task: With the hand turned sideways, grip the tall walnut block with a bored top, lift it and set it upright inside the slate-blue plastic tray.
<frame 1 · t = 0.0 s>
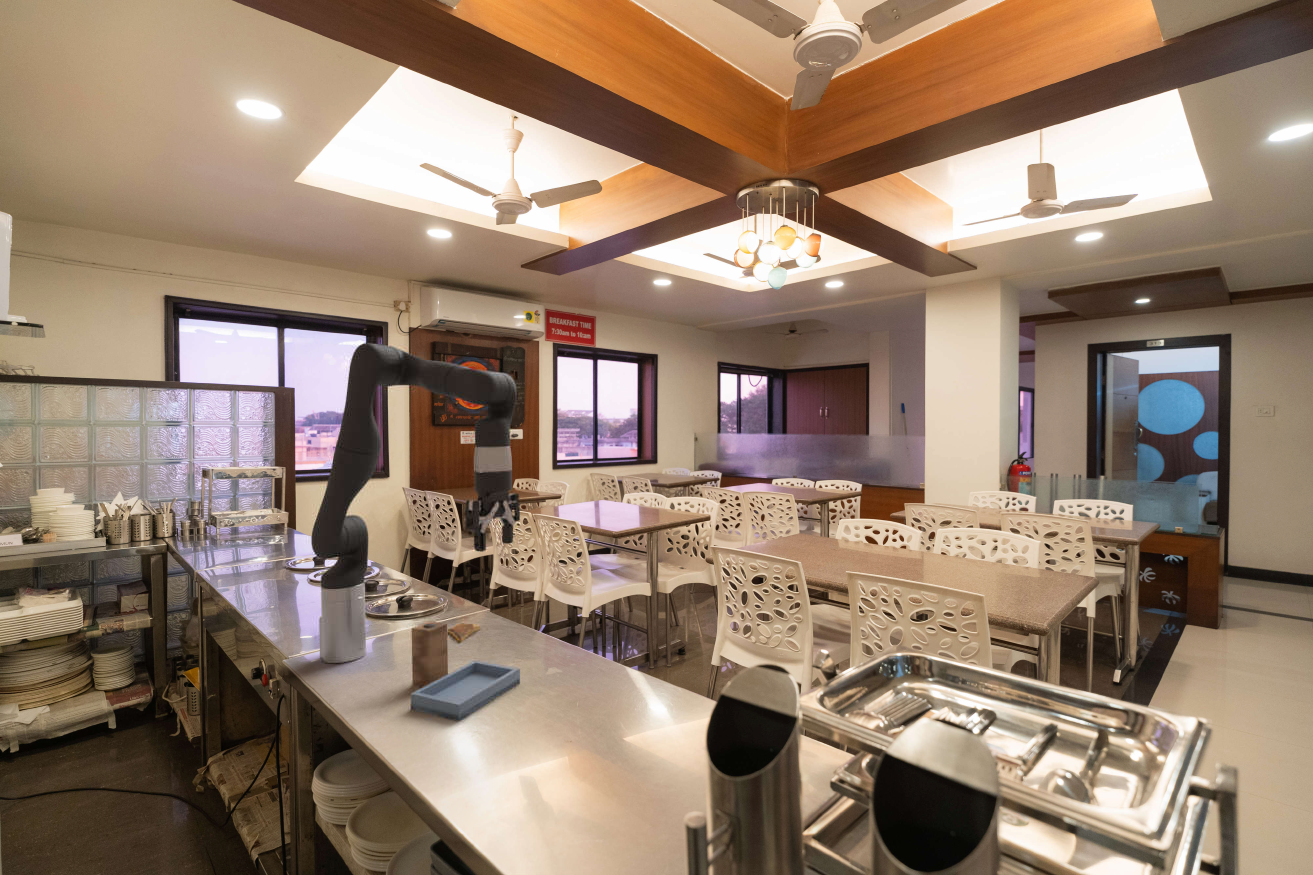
hand: (494, 547, 125), 29 cm above the counter, tool pointing down, fingers open, 8 cm apart
shard: (467, 635, 159), on the counter
slate tray: (468, 695, 122), on the counter
walnut block: (430, 681, 129), on the counter
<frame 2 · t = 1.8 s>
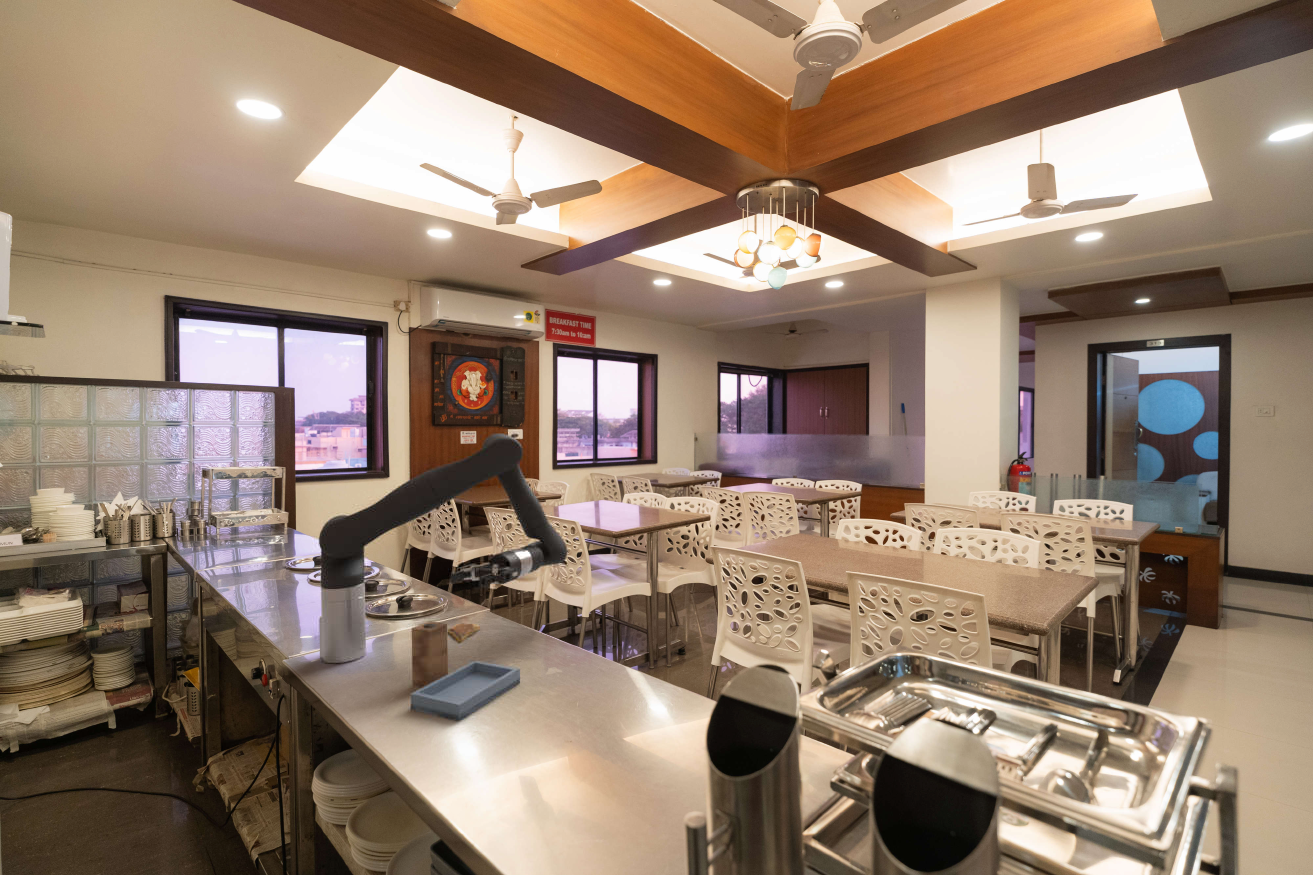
hand: (465, 580, 139), 19 cm above the counter, tool horizontal, fingers open, 8 cm apart
nothing on the counter moved.
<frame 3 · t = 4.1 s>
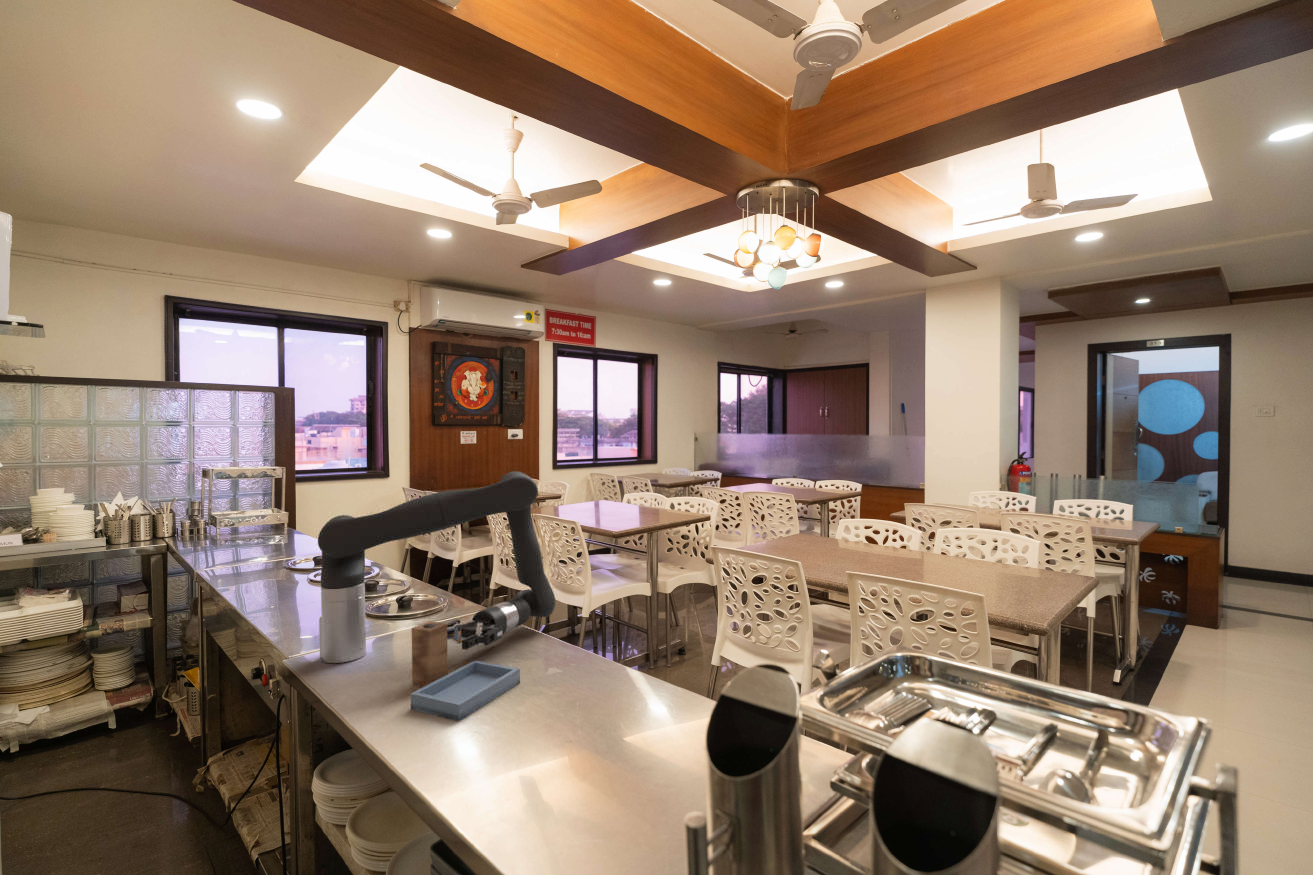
hand: (448, 642, 134), 7 cm above the counter, tool horizontal, fingers open, 8 cm apart
nothing on the counter moved.
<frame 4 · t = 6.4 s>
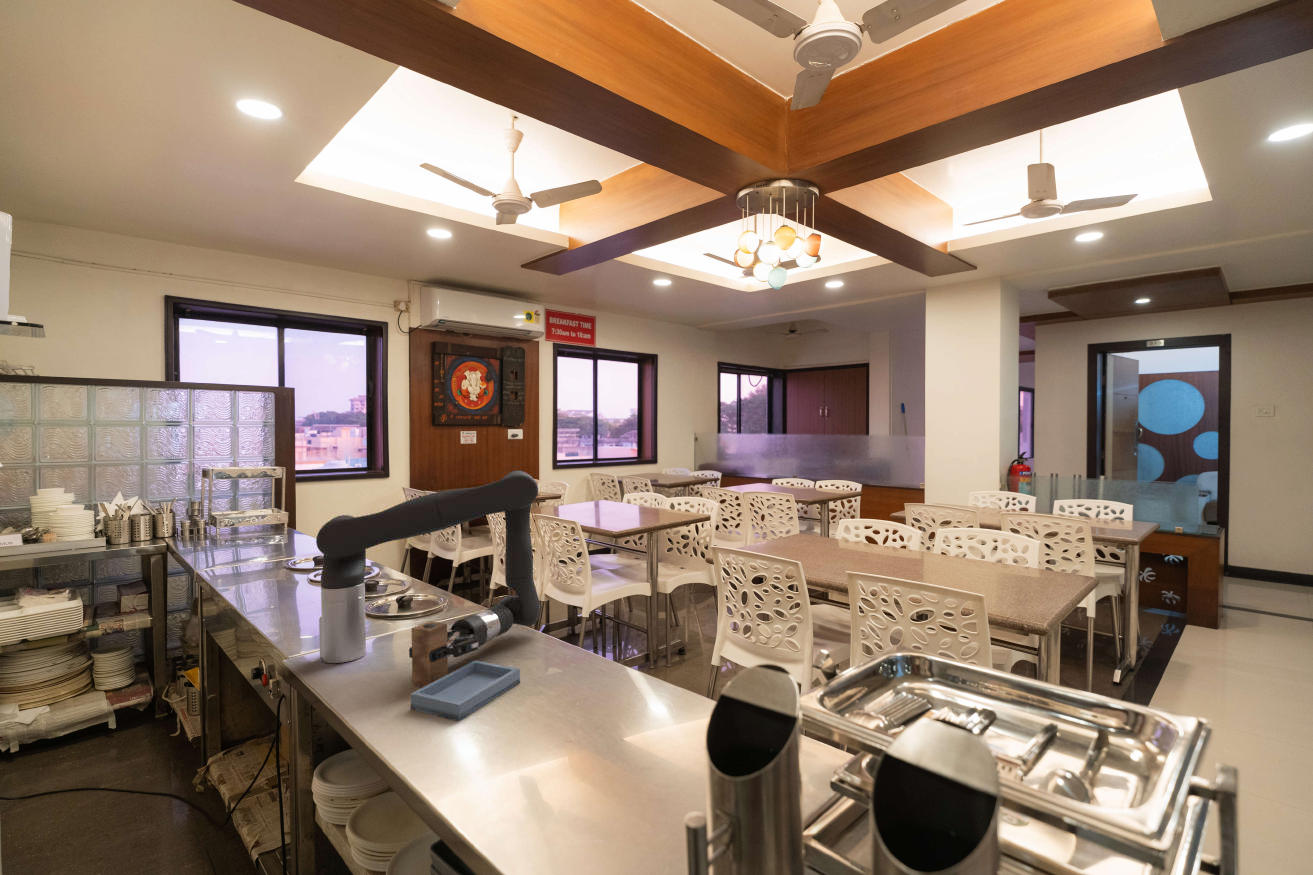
hand: (420, 655, 126), 7 cm above the counter, tool horizontal, fingers closed on walnut block, 5 cm apart
walnut block: (430, 681, 129), on the counter, touching gripper
everything else where it was.
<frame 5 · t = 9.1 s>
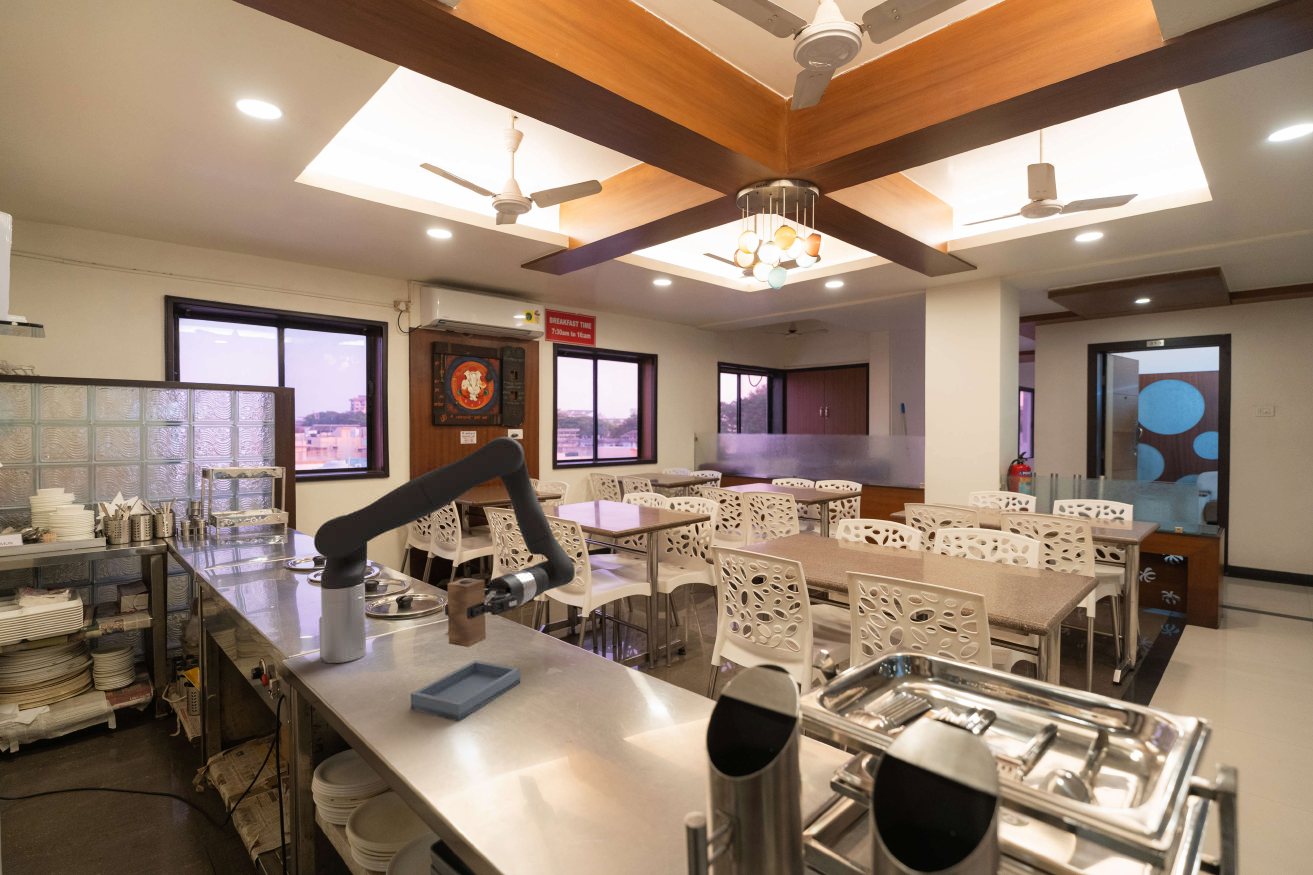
hand: (457, 612, 119), 18 cm above the counter, tool horizontal, fingers closed on walnut block, 5 cm apart
walnut block: (467, 641, 122), point 11 cm above the counter, touching gripper
everything else where it was.
when the fingers open (9 cm above the counter, at t = 11.8 s): walnut block drops 1 cm, resting on slate tray.
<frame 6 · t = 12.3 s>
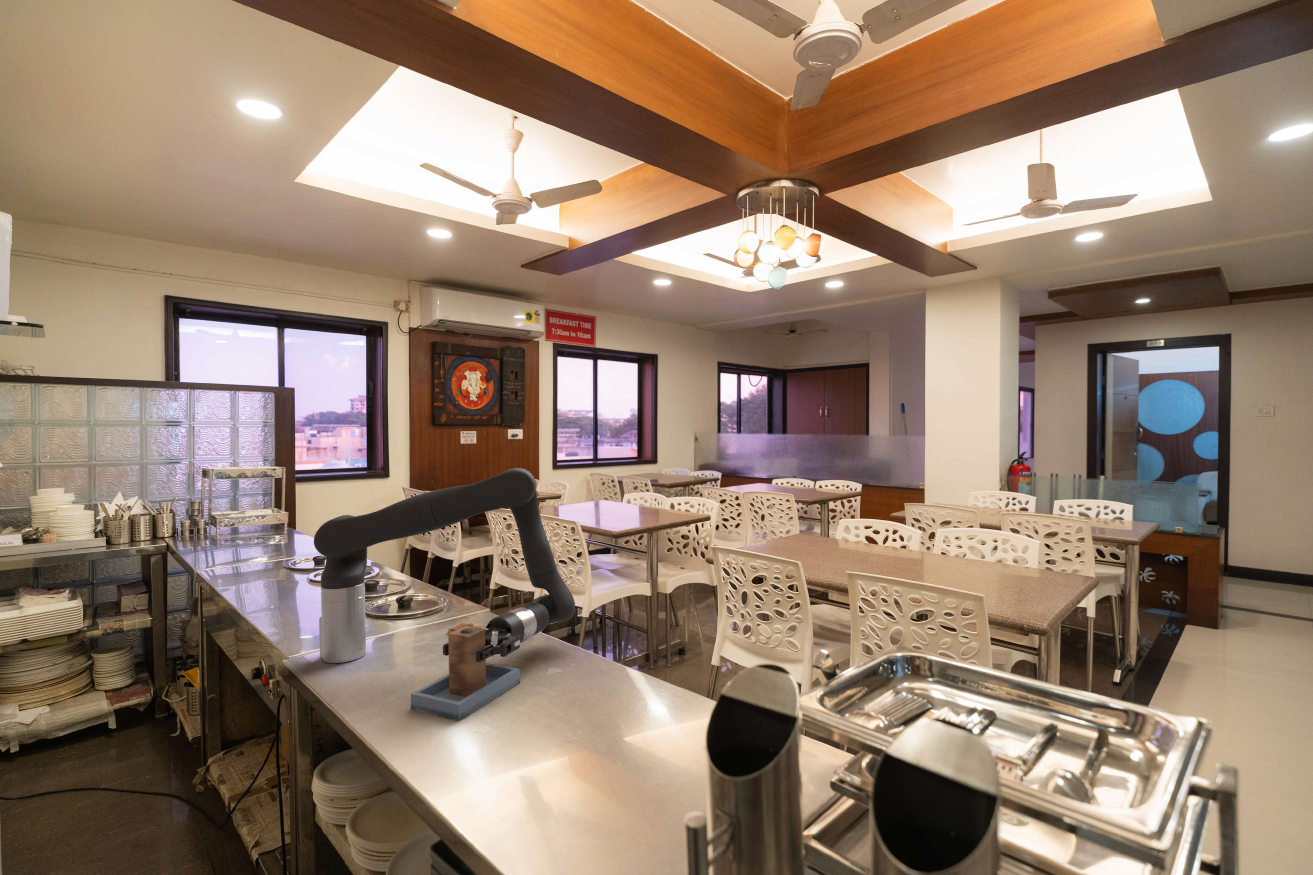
hand: (460, 653, 120), 9 cm above the counter, tool horizontal, fingers open, 8 cm apart
walnut block: (467, 690, 122), point 1 cm above the counter, touching slate tray
everything else where it was.
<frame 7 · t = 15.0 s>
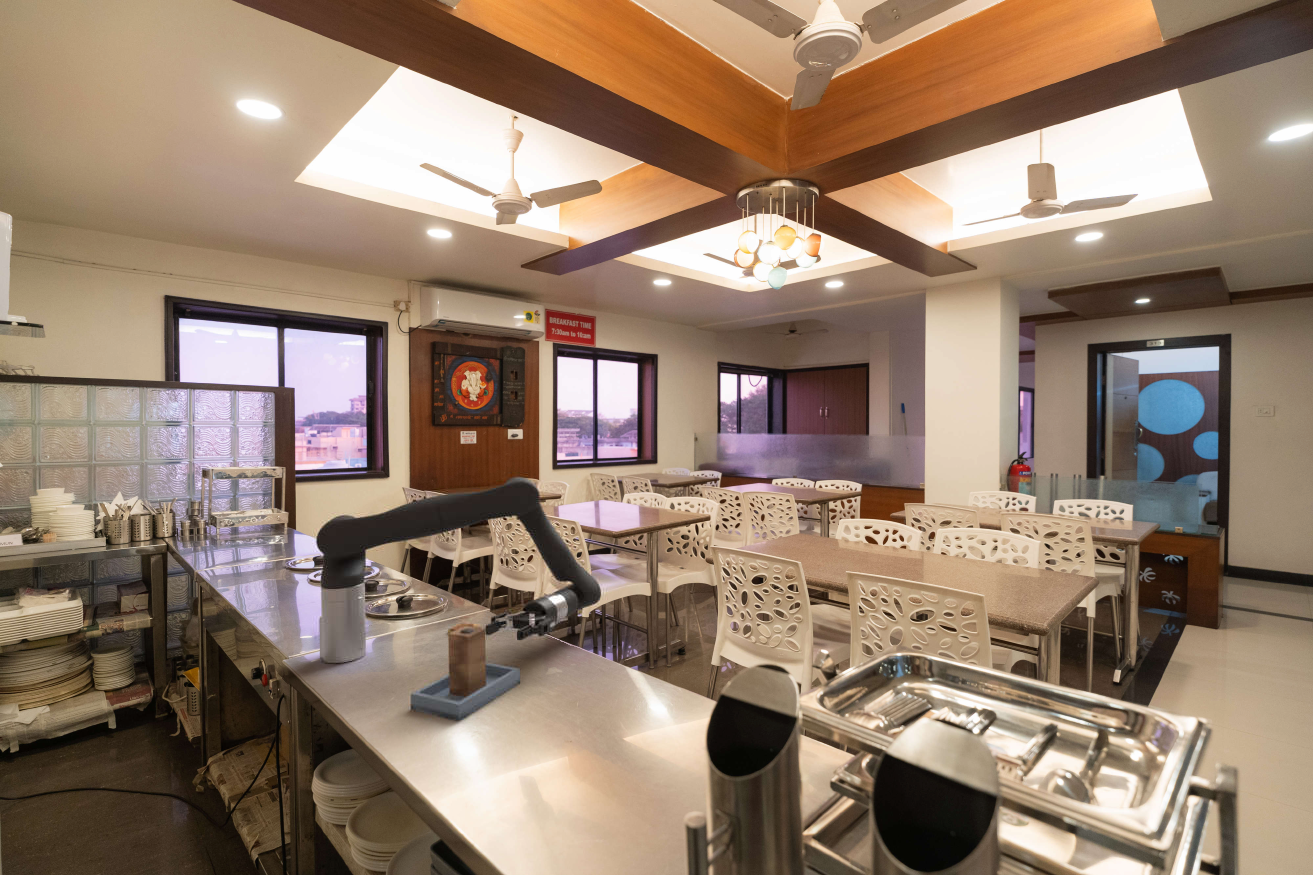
hand: (502, 633, 132), 9 cm above the counter, tool horizontal, fingers open, 8 cm apart
nothing on the counter moved.
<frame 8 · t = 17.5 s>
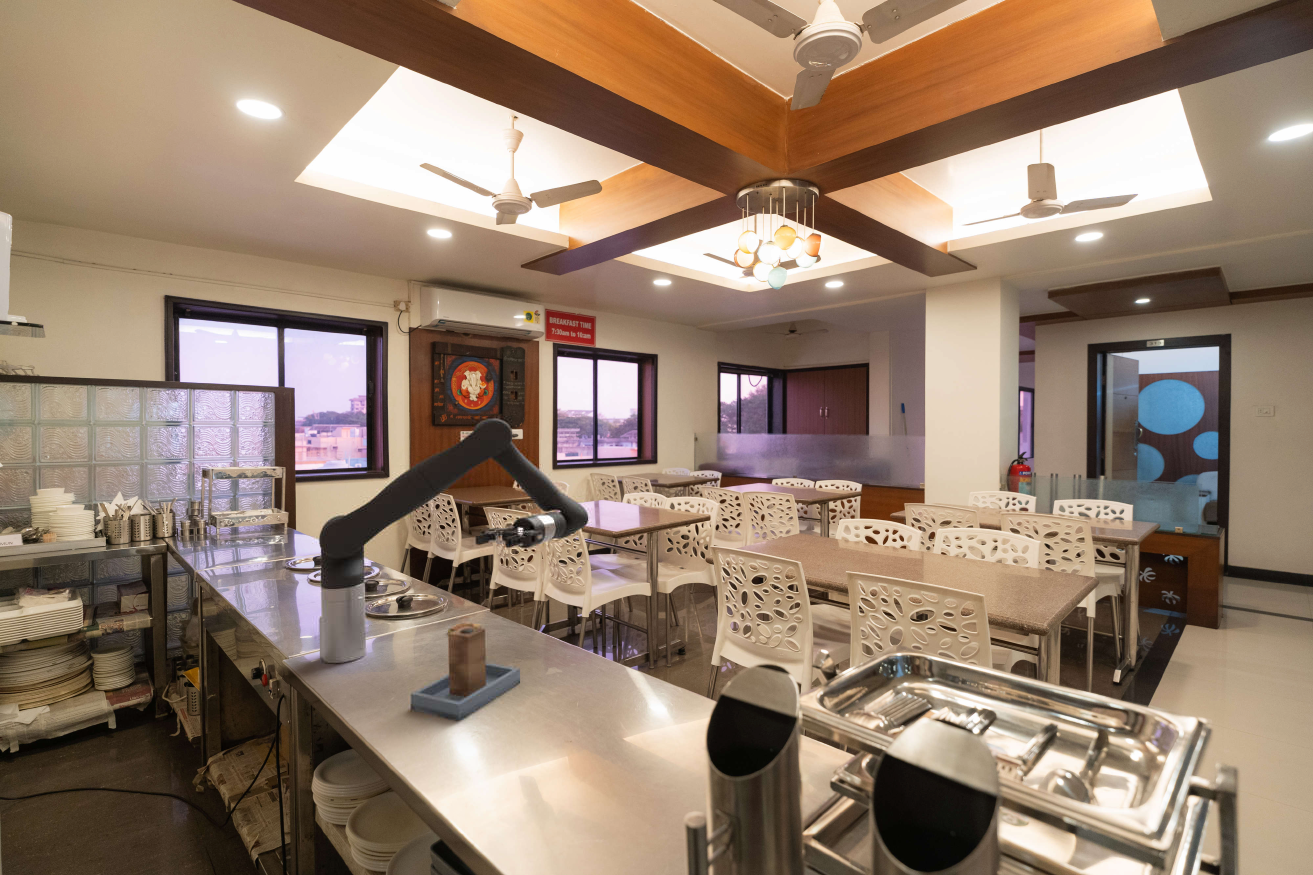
hand: (491, 541, 138), 28 cm above the counter, tool horizontal, fingers open, 8 cm apart
nothing on the counter moved.
at the end: walnut block inside the target area on the slate tray (0.0 cm from its centre), point 1.0 cm above the slate tray's base; walnut block tilted 0°; the gripper is holding nothing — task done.
